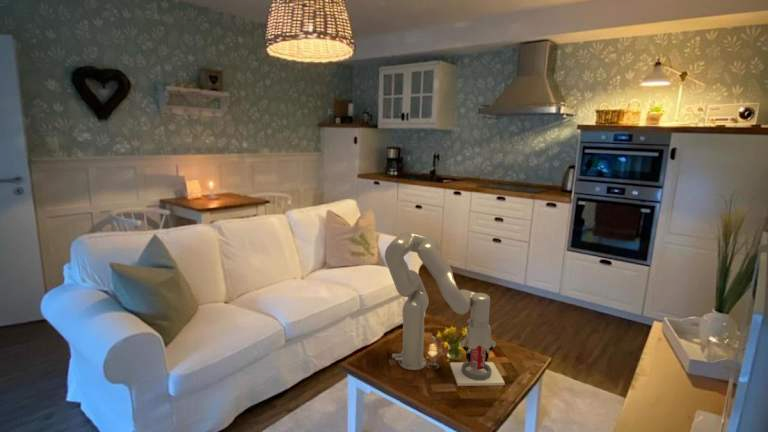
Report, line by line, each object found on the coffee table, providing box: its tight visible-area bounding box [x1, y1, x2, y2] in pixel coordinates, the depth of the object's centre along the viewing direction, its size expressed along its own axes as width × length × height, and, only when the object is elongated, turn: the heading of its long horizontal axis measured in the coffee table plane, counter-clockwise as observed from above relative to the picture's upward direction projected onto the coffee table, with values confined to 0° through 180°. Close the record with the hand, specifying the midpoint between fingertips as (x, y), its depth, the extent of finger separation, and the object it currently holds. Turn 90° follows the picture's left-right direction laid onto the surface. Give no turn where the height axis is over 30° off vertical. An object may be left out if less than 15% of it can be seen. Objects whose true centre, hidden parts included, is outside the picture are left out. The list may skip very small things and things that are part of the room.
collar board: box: [449, 360, 505, 387], centre depth 178 cm, size 20×16×3 cm
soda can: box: [469, 346, 486, 370], centre depth 177 cm, size 7×7×12 cm
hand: (476, 359), depth 177 cm, fingers closed on soda can, 6 cm apart
